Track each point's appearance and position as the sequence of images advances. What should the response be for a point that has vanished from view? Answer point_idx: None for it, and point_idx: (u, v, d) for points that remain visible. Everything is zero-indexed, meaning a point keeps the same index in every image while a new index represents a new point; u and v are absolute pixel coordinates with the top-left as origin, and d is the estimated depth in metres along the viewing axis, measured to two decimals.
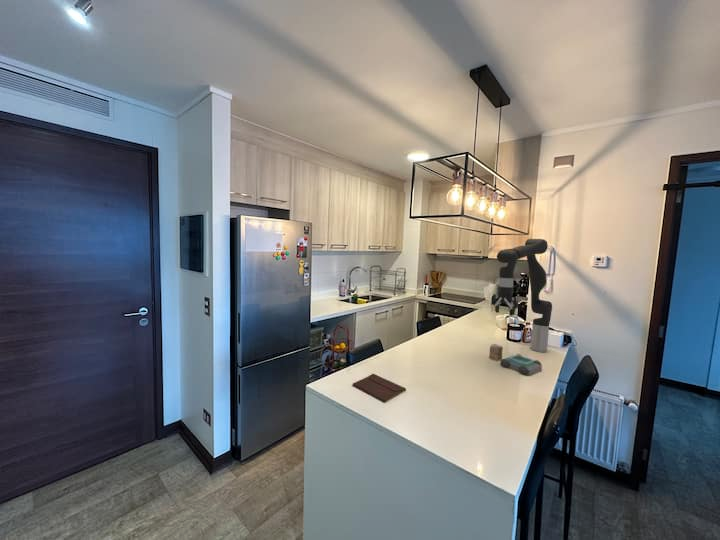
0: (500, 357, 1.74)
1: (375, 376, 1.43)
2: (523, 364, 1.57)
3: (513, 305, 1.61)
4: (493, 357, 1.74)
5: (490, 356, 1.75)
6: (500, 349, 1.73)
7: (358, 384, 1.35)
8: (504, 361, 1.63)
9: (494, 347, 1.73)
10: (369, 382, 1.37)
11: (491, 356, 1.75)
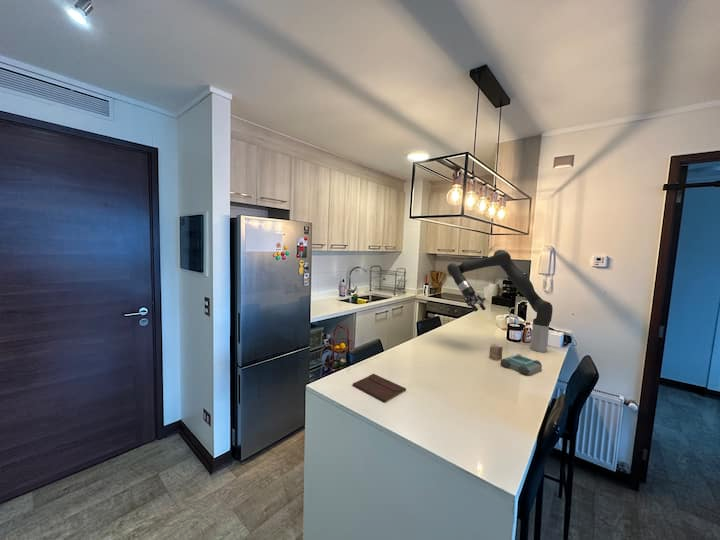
0: (500, 357, 1.74)
1: (375, 376, 1.43)
2: (523, 364, 1.57)
3: (472, 302, 1.82)
4: (493, 357, 1.74)
5: (490, 356, 1.75)
6: (500, 349, 1.73)
7: (358, 384, 1.35)
8: (504, 361, 1.63)
9: (494, 347, 1.73)
10: (369, 382, 1.37)
11: (491, 356, 1.75)
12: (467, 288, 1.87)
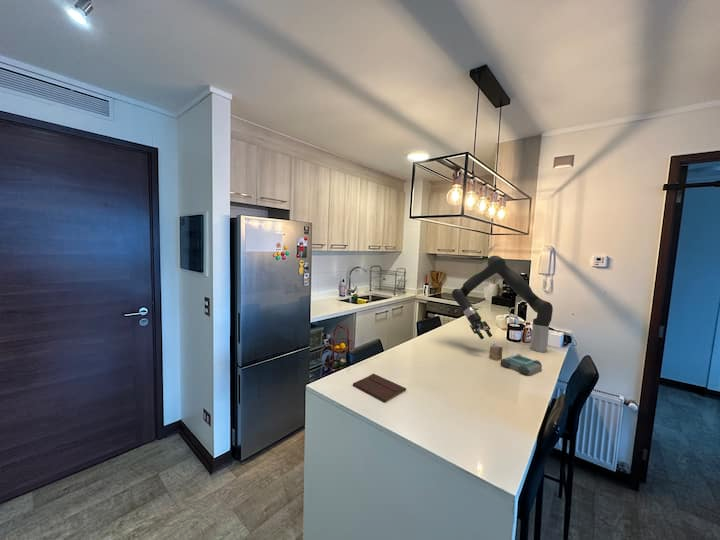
0: (500, 357, 1.74)
1: (375, 376, 1.43)
2: (523, 364, 1.57)
3: (478, 329, 1.80)
4: (493, 357, 1.74)
5: (490, 356, 1.75)
6: (500, 349, 1.73)
7: (358, 384, 1.35)
8: (504, 361, 1.63)
9: (494, 347, 1.73)
10: (369, 382, 1.37)
11: (491, 356, 1.75)
12: (473, 314, 1.84)
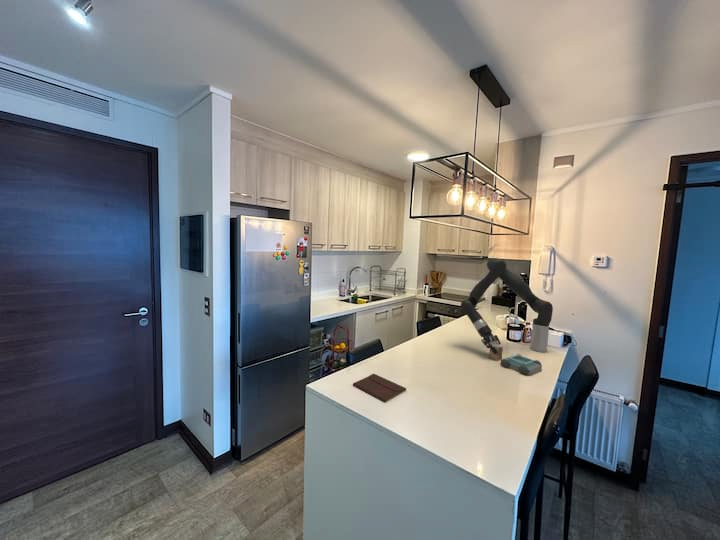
0: (500, 357, 1.74)
1: (375, 376, 1.43)
2: (523, 364, 1.57)
3: (491, 344, 1.74)
4: (493, 357, 1.74)
5: (490, 356, 1.75)
6: (500, 349, 1.73)
7: (358, 384, 1.35)
8: (504, 361, 1.63)
9: None
10: (369, 382, 1.37)
11: (491, 356, 1.75)
12: (483, 327, 1.79)
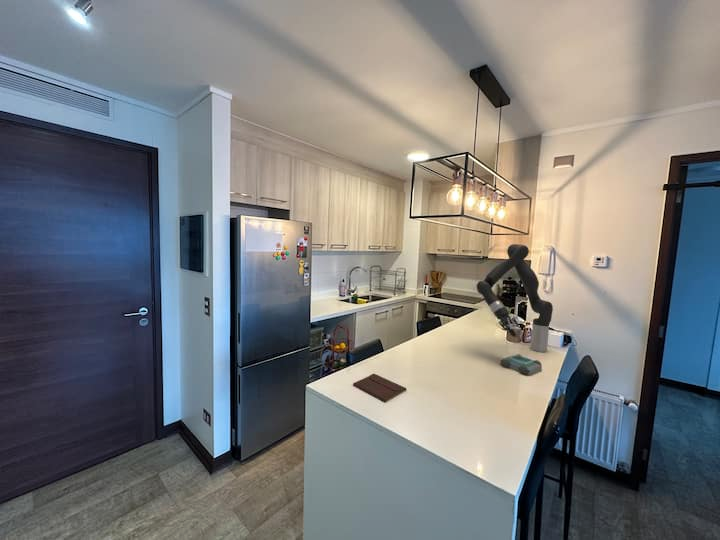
0: (519, 340, 1.64)
1: (376, 376, 1.43)
2: (523, 364, 1.57)
3: (509, 326, 1.64)
4: (511, 340, 1.64)
5: (508, 339, 1.66)
6: (519, 331, 1.63)
7: (359, 384, 1.35)
8: (504, 361, 1.63)
9: None
10: (370, 382, 1.38)
11: (509, 339, 1.66)
12: (500, 309, 1.69)
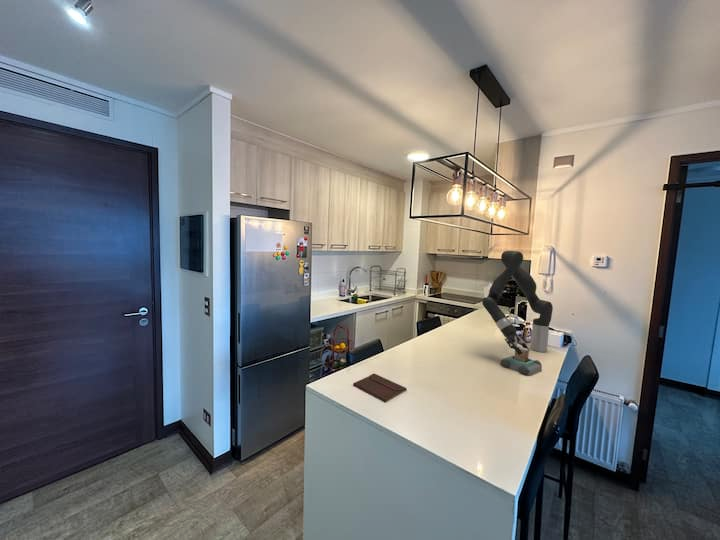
0: (526, 361, 1.61)
1: (376, 376, 1.43)
2: (523, 364, 1.57)
3: (515, 344, 1.61)
4: None
5: None
6: (526, 352, 1.60)
7: (359, 384, 1.35)
8: (504, 361, 1.63)
9: None
10: (370, 382, 1.38)
11: None
12: (508, 326, 1.66)
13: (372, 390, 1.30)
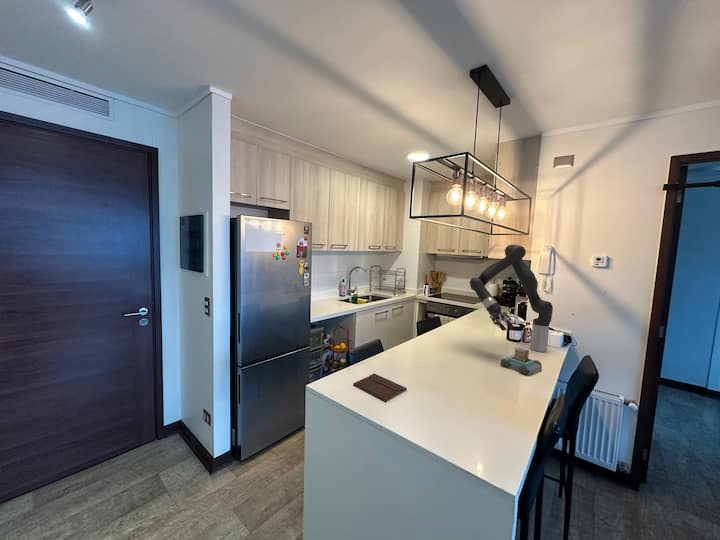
0: (526, 361, 1.61)
1: (376, 376, 1.43)
2: (523, 364, 1.57)
3: (499, 320, 1.69)
4: None
5: None
6: (526, 352, 1.60)
7: (359, 384, 1.35)
8: (504, 361, 1.63)
9: (520, 350, 1.61)
10: (370, 382, 1.38)
11: None
12: (493, 305, 1.74)
13: (372, 390, 1.30)
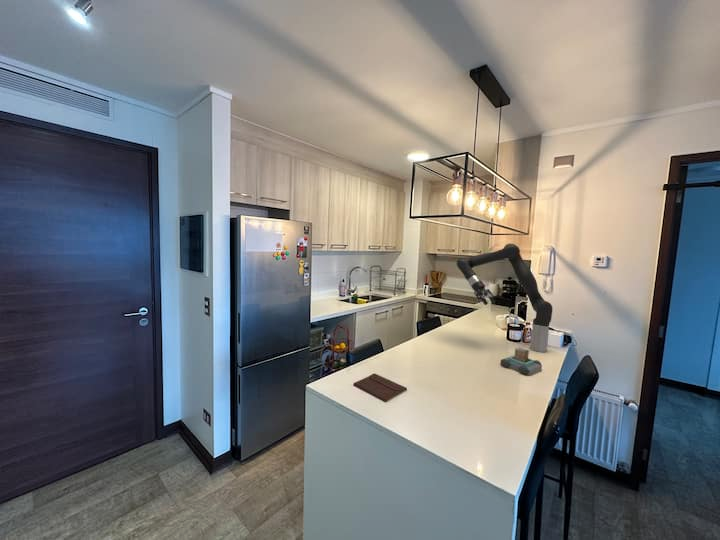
0: (526, 361, 1.61)
1: (376, 376, 1.43)
2: (523, 364, 1.57)
3: (482, 296, 1.85)
4: None
5: None
6: (526, 352, 1.60)
7: (359, 384, 1.36)
8: (504, 361, 1.63)
9: (520, 350, 1.61)
10: (370, 382, 1.38)
11: None
12: (477, 282, 1.90)
13: (372, 390, 1.30)
